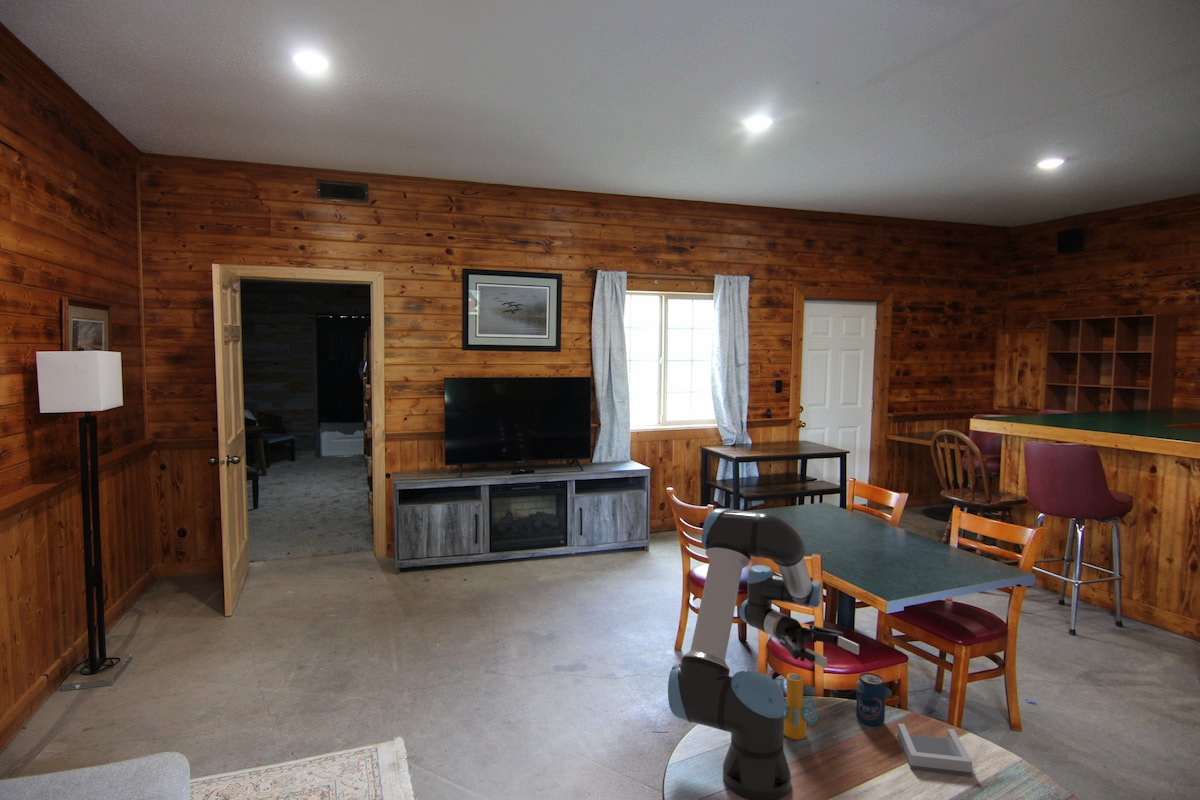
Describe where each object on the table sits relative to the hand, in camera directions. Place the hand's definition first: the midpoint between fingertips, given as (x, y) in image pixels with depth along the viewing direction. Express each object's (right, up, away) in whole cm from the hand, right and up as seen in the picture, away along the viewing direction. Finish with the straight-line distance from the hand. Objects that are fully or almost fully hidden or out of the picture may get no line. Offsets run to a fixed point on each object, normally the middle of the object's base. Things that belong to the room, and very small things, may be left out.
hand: (842, 656), depth 180 cm
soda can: (+5, -15, -7) cm, 17 cm away
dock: (+14, -16, -21) cm, 30 cm away
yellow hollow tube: (-17, -15, -12) cm, 26 cm away
